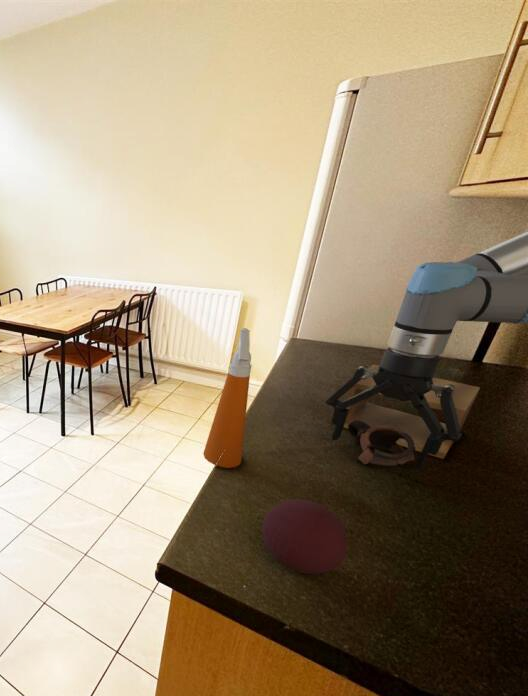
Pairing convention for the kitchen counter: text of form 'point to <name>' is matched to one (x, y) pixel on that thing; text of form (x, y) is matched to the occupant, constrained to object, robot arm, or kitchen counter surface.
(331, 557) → the decorative ball
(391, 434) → the pottery mug
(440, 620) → the kitchen counter surface
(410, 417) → the tan open box
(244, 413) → the spray bottle
